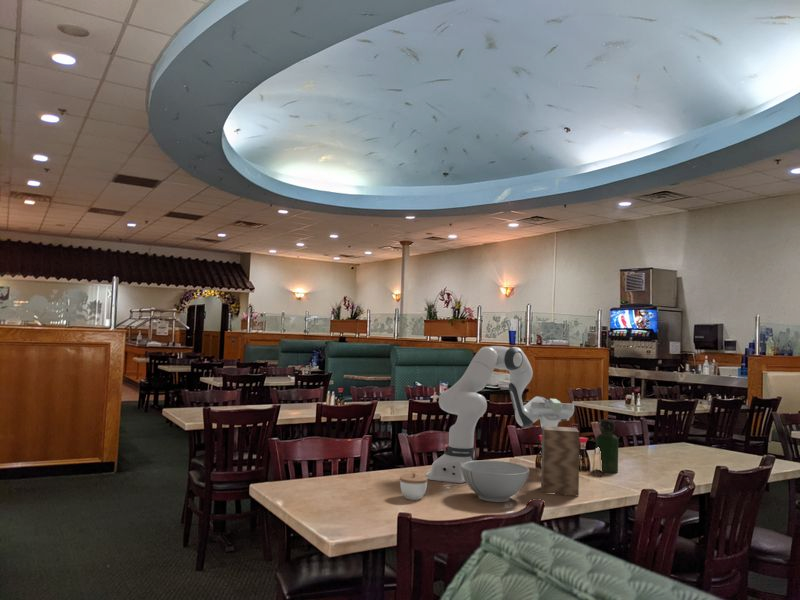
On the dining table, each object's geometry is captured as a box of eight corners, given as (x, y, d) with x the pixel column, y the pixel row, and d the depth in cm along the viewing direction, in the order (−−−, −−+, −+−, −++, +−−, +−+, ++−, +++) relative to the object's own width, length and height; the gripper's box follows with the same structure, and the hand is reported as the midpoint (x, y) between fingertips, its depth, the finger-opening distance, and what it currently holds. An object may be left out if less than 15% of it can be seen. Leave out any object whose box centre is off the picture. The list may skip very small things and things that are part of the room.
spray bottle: (609, 468, 308) (610, 418, 309) (622, 473, 298) (622, 421, 299) (591, 468, 305) (592, 418, 306) (603, 473, 295) (604, 421, 296)
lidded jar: (399, 493, 242) (400, 469, 243) (426, 495, 242) (427, 471, 242) (398, 500, 231) (399, 475, 232) (427, 502, 231) (427, 476, 232)
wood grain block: (543, 493, 250) (544, 429, 252) (541, 486, 262) (542, 425, 264) (578, 496, 248) (579, 431, 250) (574, 489, 260) (575, 427, 262)
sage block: (553, 411, 271) (553, 402, 272) (549, 406, 292) (549, 398, 292) (560, 412, 271) (560, 403, 271) (556, 407, 292) (556, 398, 292)
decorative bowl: (449, 500, 235) (450, 468, 236) (474, 486, 259) (475, 457, 260) (516, 511, 223) (517, 477, 223) (536, 496, 246) (537, 465, 247)
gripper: (529, 406, 303) (531, 394, 292) (571, 408, 300) (575, 396, 288) (529, 418, 300) (531, 406, 288) (572, 420, 296) (576, 409, 285)
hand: (553, 401), depth 288 cm, fingers closed on sage block, 3 cm apart
